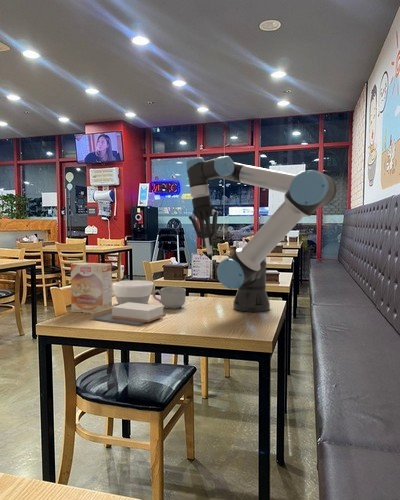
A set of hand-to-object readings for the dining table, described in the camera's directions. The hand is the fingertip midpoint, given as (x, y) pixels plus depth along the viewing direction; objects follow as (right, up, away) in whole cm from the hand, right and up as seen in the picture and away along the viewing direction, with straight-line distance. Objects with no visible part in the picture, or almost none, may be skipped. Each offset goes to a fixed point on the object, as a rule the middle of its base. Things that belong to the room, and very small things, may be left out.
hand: (210, 253), depth 164 cm
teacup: (-17, -23, +5) cm, 29 cm away
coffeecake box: (-48, -24, -3) cm, 53 cm away
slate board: (-30, -24, -14) cm, 41 cm away
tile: (-20, -22, -19) cm, 35 cm away
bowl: (-34, -23, +12) cm, 42 cm away
